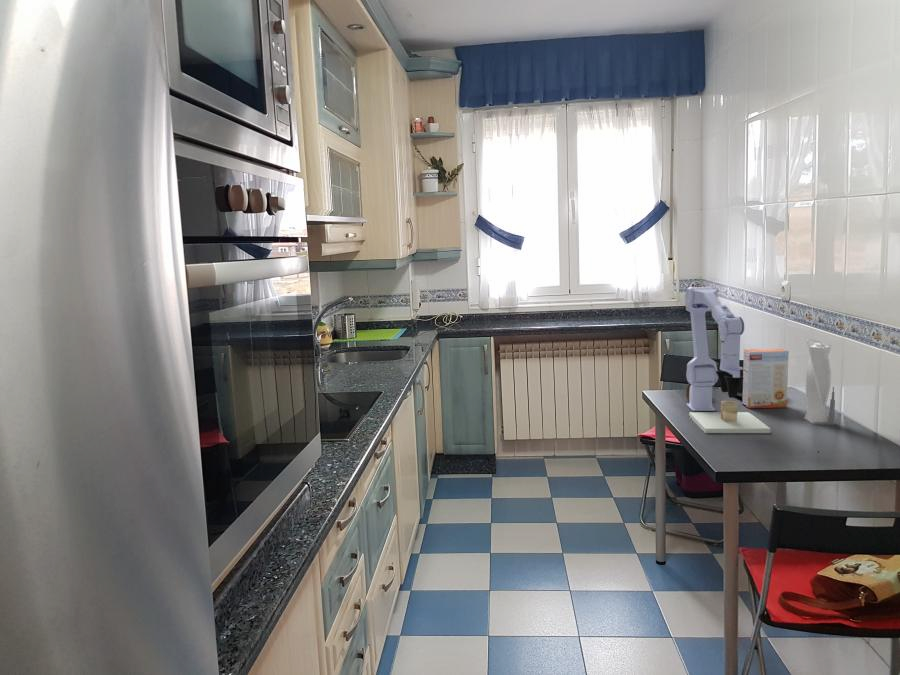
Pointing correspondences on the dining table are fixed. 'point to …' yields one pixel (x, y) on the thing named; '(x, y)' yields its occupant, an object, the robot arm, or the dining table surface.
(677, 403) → the dining table surface
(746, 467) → the dining table surface
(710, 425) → the board
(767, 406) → the cracker box
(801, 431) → the dining table surface
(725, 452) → the dining table surface
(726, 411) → the pine block
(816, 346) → the skyscraper
